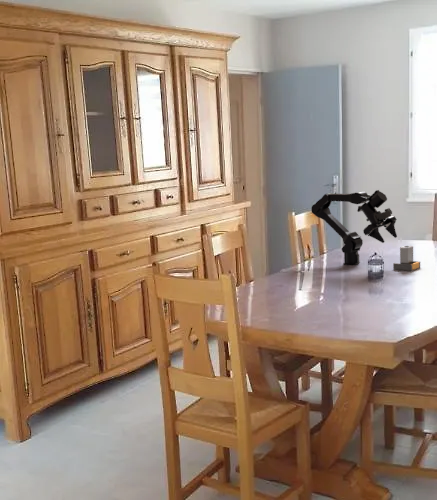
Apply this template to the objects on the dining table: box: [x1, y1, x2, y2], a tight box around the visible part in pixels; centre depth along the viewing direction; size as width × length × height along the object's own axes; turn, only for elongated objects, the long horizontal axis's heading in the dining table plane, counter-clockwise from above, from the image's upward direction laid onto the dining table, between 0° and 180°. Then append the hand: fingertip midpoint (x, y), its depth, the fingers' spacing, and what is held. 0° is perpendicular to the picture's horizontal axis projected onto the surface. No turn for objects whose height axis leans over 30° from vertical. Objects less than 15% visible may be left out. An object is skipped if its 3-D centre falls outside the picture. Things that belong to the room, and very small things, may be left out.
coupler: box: [393, 260, 421, 272], centre depth 307 cm, size 9×9×3 cm
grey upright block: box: [399, 245, 414, 264], centre depth 306 cm, size 4×5×10 cm
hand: (390, 239), depth 310 cm, fingers open, 9 cm apart
